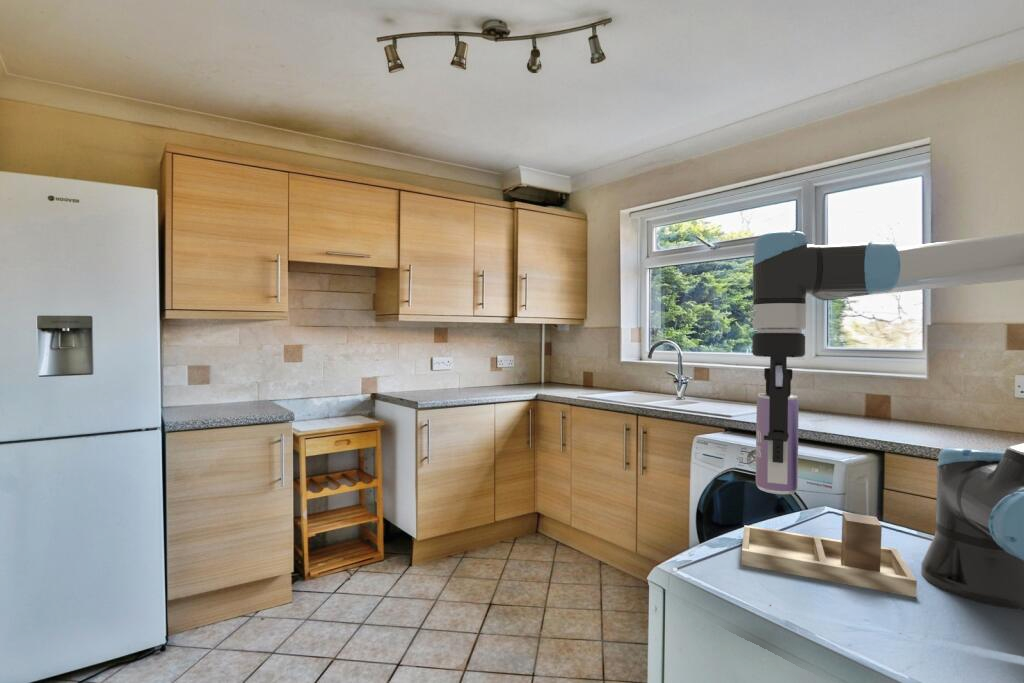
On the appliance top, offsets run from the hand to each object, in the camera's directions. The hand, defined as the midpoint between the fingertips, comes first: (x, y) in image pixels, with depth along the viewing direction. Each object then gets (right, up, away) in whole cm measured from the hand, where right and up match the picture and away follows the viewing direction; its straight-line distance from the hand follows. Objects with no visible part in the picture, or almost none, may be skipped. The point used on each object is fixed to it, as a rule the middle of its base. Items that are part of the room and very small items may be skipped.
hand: (776, 477), depth 86 cm
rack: (+12, -18, +10) cm, 24 cm away
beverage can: (0, -2, 0) cm, 2 cm away
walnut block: (+18, -18, +7) cm, 26 cm away
